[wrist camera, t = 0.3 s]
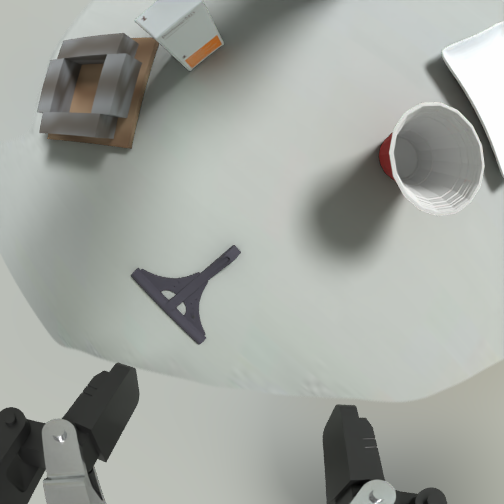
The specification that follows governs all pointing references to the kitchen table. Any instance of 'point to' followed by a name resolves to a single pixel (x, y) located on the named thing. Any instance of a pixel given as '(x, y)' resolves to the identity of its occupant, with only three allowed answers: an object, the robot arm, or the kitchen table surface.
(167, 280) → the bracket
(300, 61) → the kitchen table surface
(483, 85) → the salad plate
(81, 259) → the kitchen table surface
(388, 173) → the plastic cup
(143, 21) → the skincare box
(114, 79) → the holder
